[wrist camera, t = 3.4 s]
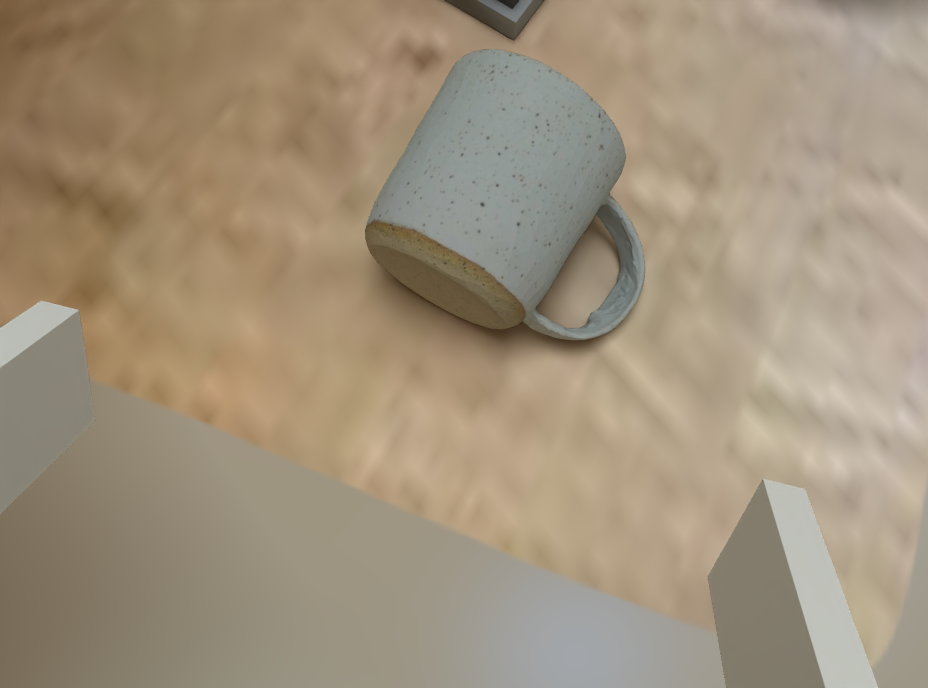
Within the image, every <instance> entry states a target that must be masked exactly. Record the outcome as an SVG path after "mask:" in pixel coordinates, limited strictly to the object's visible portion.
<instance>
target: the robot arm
mask: <svg viewBox="0 0 928 688" xmlns="http://www.w3.org/2000/svg"><path fill="white" fill-rule="evenodd" d="M95 421H96V419H95V413H94V406H93V399H92V393H91V386H90V379H89V373H88V366H87V359H86V353H85V346H84V339H83V332H82V326H81V319H80V312H79V310H77V309H73V308H69V307H65V306H61V305H57V304H53V303H49V302H45V301H40V302H38V303H37V304H35V305H34V306H32V307H31V308H29V309H28V310H26V311H25V312H23V313H22V314H20V315H19V316H17V317H16V318H14V319H13V320H11V321H10V322H8V323H7V324H5V325H4V326H2V327H1V328H0V514H1V513H2V512H3V511H4V510H5V509H6V508H7V507H8V506H9V505H10V504H11V503H12V502H13V501H14V500H15V499H16V498H17V497H19V496H20V494H21V493H23V492H24V491H25V490H26V489H27V488H28V487H29V486H30V485H31V484H32V483H33V482H34V481H35V480H36V479H37V478H38V477H39V476H40V475H41V474H42V473H43V472H44V471H45V470H46V469H47V468H48V467H49V466H50V465H51V464H52V463H53V462H54V461H55V460H56V459H57V458H58V457H59V456H60V455H61V454H62V453H63V452H64V451H65V450H66V449H68V447H70V446H71V445H72V444H73V443H74V442H75V441H76V440H77V439H78V438H79V437H80V436H81V435H82V434H83V433H84V432H85V431H86V430H87V429H88V428H89V427H90V426H91V425H92V424H93V423H94V422H95ZM708 583H709V589H710V594H711V600H712V606H713V612H714V618H715V624H716V630H717V636H718V642H719V648H720V654H721V660H722V666H723V672H724V678H725V684H726V688H878V686H877V683H876V681H875V678H874V675H873V672H872V670H871V667H870V664H869V662H868V659H867V656H866V653H865V651H864V648H863V645H862V643H861V640H860V637H859V634H858V632H857V629H856V626H855V624H854V621H853V618H852V615H851V613H850V610H849V607H848V604H847V602H846V599H845V596H844V594H843V591H842V588H841V585H840V583H839V580H838V577H837V575H836V572H835V569H834V566H833V564H832V561H831V558H830V556H829V553H828V550H827V547H826V545H825V542H824V539H823V537H822V534H821V531H820V528H819V526H818V523H817V520H816V517H815V515H814V512H813V509H812V507H811V504H810V501H809V498H808V496H807V493H806V490H805V489H802V488H798V487H794V486H790V485H786V484H782V483H778V482H774V481H770V480H766V479H763V480H762V482H761V483H760V485H759V487H758V489H757V490H756V492H755V494H754V496H753V497H752V499H751V501H750V503H749V505H748V506H747V508H746V510H745V512H744V513H743V515H742V517H741V519H740V520H739V522H738V524H737V526H736V527H735V529H734V531H733V533H732V535H731V536H730V538H729V540H728V542H727V543H726V545H725V547H724V549H723V550H722V552H721V554H720V556H719V557H718V559H717V561H716V563H715V565H714V566H713V568H712V570H711V572H710V573H709V575H708Z"/></svg>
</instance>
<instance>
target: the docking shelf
mask: <svg viewBox="0 0 928 688" xmlns="http://www.w3.org/2000/svg"><path fill="white" fill-rule="evenodd" d="M446 1H448V2H449V3H451V4H453V5H455V6H456V7H458V8H460V9H461V10H463V11H465V12H466V13H468V14H470V15H472V16H473V17H475V18H477V19H478V20H480V21H482V22H484V23H485V24H487V25H489V26H490V27H492V28H494V29H495V30H497V31H499V32H501V33H502V34H504V35H506V36H507V37H509V38H511V39H513V40H514V39H515V38H516V37H517V35H518V34H519V33H520V31H521V30H522V29H523V27H524V26H525V25H526V23H527V22H528V21H529V19H530V18H531V17H532V15H533V14H534V13H535V11H536V10H537V9H538V7H539V6H540V5H541V3H542V2H543V1H544V0H446Z"/></svg>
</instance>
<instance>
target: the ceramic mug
mask: <svg viewBox="0 0 928 688" xmlns="http://www.w3.org/2000/svg"><path fill="white" fill-rule="evenodd" d="M625 159H626V154H625V148H624V144H623V141H622V139H621V136H620V133H619V132H618V130H617V128H616V126H615V124H614V123H613V122H612V120H611V119H610V118H609V116H608V115H607V114H606V112H605V111H604V110H603V109H602V108H601V107H600V106H599V105H598V103H597V102H596V101H595V100H593V99H592V98H591V97H590V96H589V95H588V94H587V93H586V92H585V91H584V90H583V89H582V88H581V87H579V86H578V85H577V84H576V83H574V82H573V81H571V80H570V79H568V78H567V77H565V76H564V75H562V74H561V73H559V72H557V71H556V70H554V69H552V68H551V67H549V66H547V65H545V64H543V63H541V62H539V61H537V60H534V59H531V58H528V57H526V56H523V55H520V54H516V53H512V52H508V51H503V50H495V49H484V50H478V51H474V52H472V53H469V54H467V55H465V56H463V57H462V58H461V59H460V60H459V61H458V62H456V63H455V65H454V66H453V67H452V69H451V71H450V73H449V75H448V76H447V78H446V80H445V82H444V83H443V85H442V87H441V89H440V91H439V92H438V94H437V96H436V97H435V99H434V101H433V103H432V105H431V106H430V108H429V109H428V111H427V112H426V114H425V116H424V118H423V120H422V121H421V123H420V124H419V126H418V128H417V129H416V131H415V133H414V135H413V137H412V138H411V140H410V142H409V144H408V146H407V147H406V149H405V152H404V154H403V155H402V157H401V158H400V160H399V162H398V163H397V165H396V166H395V168H394V170H393V171H392V173H391V174H390V176H389V178H388V179H387V181H386V183H385V185H384V186H383V188H382V190H381V192H380V194H379V195H378V197H377V199H376V201H375V203H374V206H373V209H372V211H371V214H370V216H369V219H368V222H367V226H366V229H365V239H366V242H367V246H368V249H369V251H370V253H371V254H372V256H373V257H374V258H375V260H376V261H377V262H378V263H379V264H380V265H381V266H382V267H383V268H384V269H385V270H386V271H387V272H389V273H390V274H391V275H392V276H394V277H395V278H396V279H397V280H398V281H400V282H401V283H403V284H404V285H405V286H407V287H408V288H410V289H411V290H412V291H414V292H416V293H417V294H419V295H420V296H422V297H423V298H425V299H427V300H428V301H430V302H432V303H433V304H435V305H437V306H439V307H441V308H442V309H444V310H446V311H448V312H450V313H452V314H454V315H456V316H458V317H460V318H462V319H465V320H467V321H469V322H472V323H475V324H478V325H481V326H484V327H487V328H491V329H507V328H510V327H514V326H516V325H518V324H520V323H521V322H522V321H523V322H524V323H525V324H527V325H528V326H529V327H530V328H532V329H534V330H535V331H538V332H540V333H543V334H546V335H548V336H551V337H554V338H558V339H566V340H587V339H591V338H596V337H599V336H601V335H603V334H605V333H607V332H610V331H611V330H613V329H614V328H615V327H616V326H617V325H619V324H620V323H621V322H622V321H623V320H624V319H625V318H626V316H627V315H628V314H629V312H630V311H631V309H632V308H633V306H634V305H635V303H636V301H637V299H638V297H639V295H640V293H641V290H642V287H643V283H644V278H645V260H644V254H643V249H642V245H641V242H640V240H639V237H638V234H637V232H636V230H635V228H634V226H633V224H632V222H631V221H630V219H629V218H628V216H627V215H626V214H625V212H624V211H623V210H622V208H621V207H620V206H619V205H618V204H617V202H616V201H615V200H614V198H612V197H611V196H610V191H611V189H612V188H613V186H614V184H615V183H616V182H617V180H618V178H619V176H620V175H621V173H622V170H623V167H624V163H625ZM595 214H596V215H597V216H598V217H599V218H600V219H601V221H602V222H603V223H604V225H605V226H606V228H607V229H608V230H609V232H610V234H611V236H612V238H613V239H614V241H615V243H616V245H617V250H618V253H619V257H620V265H621V267H620V274H619V275H618V282H617V283H616V285H615V287H614V288H613V290H612V291H611V292H610V294H609V295H608V297H607V298H606V300H605V301H604V303H603V304H602V305H601V306H600V307H599V309H598V310H597V311H595V312H592V313H591V314H590V316H589V319H588V322H587V324H586V325H585V326H583V327H581V328H566V327H564V326H562V325H559V324H557V323H555V322H553V321H551V320H548V319H547V318H546V317H545V316H543V315H541V314H539V313H538V312H537V310H536V306H537V305H538V304H539V303H540V302H541V300H542V299H543V297H544V296H545V294H546V293H547V291H548V290H549V288H550V287H551V285H552V283H553V282H554V280H555V278H556V277H557V275H558V273H559V271H560V269H561V268H562V266H563V264H564V262H565V261H566V259H567V257H568V256H569V254H570V253H571V251H572V249H573V248H574V246H575V245H576V243H577V241H578V240H579V239H580V237H581V236H582V234H583V233H584V232H585V230H586V229H587V227H588V226H589V224H590V223H591V221H592V219H593V218H594V216H595Z"/></svg>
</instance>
